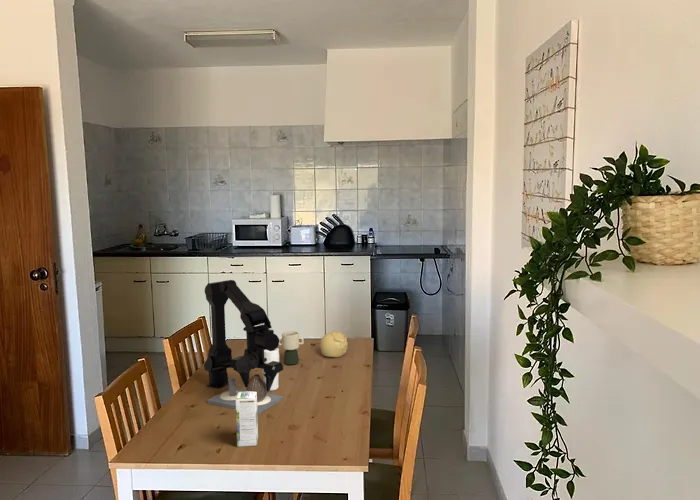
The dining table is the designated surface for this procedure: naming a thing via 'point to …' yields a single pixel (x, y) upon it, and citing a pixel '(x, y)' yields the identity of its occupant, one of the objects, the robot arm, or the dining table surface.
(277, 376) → the white tapered cylinder
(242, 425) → the syrup box
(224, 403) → the board
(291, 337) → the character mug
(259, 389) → the vase
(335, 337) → the sculpture
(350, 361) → the dining table surface
